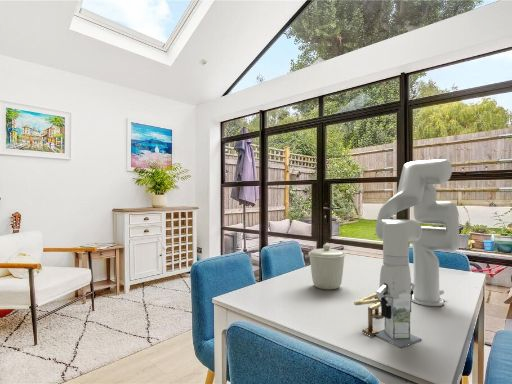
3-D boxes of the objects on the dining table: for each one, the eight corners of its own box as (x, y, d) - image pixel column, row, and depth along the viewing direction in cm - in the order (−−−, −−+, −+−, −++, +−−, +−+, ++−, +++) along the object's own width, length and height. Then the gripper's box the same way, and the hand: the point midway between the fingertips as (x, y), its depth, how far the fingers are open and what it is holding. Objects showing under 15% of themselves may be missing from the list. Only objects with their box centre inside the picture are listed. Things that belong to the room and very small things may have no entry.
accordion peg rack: (376, 313, 117) (375, 290, 117) (406, 325, 106) (405, 300, 106) (342, 322, 109) (342, 298, 109) (371, 337, 98) (370, 310, 98)
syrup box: (401, 331, 101) (400, 286, 101) (411, 339, 95) (410, 292, 95) (384, 331, 100) (383, 287, 101) (393, 339, 95) (392, 292, 95)
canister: (303, 289, 148) (303, 245, 148) (314, 280, 164) (314, 240, 164) (341, 294, 139) (341, 248, 140) (349, 284, 155) (348, 242, 156)
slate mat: (393, 328, 104) (393, 326, 104) (421, 340, 95) (421, 338, 95) (373, 334, 99) (373, 333, 99) (400, 348, 91) (400, 346, 91)
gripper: (402, 255, 105) (403, 305, 105) (367, 261, 97) (368, 315, 96) (423, 259, 99) (424, 313, 98) (388, 265, 90) (388, 324, 90)
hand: (396, 314), depth 97 cm, fingers open, 9 cm apart
